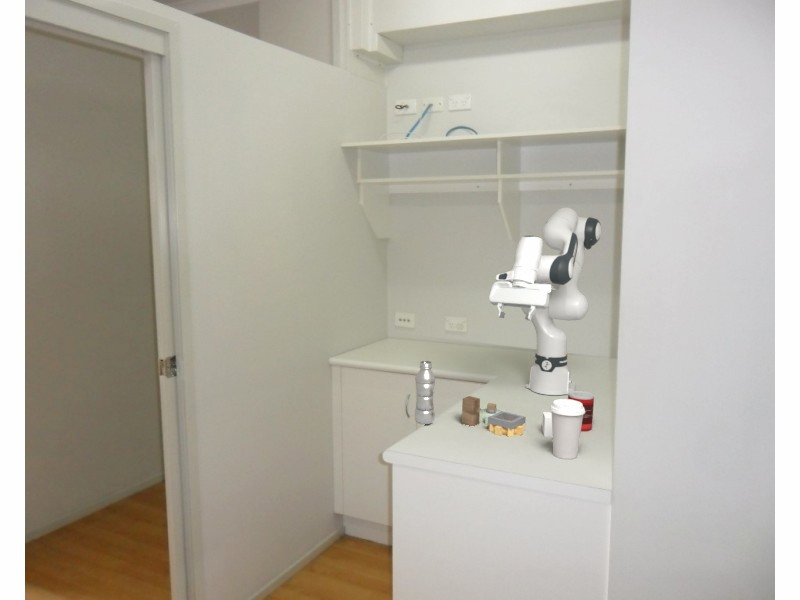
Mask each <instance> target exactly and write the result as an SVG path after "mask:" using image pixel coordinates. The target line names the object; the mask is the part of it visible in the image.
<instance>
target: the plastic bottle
mask: <svg viewBox="0 0 800 600" xmlns="http://www.w3.org/2000/svg"><path fill="white" fill-rule="evenodd" d="M419 362H420V363H419V371H418V372H417V374H416V375H415V387H416V404H415V410H414V420H415V422H416V423H417V424H420V425H430V424H432V423H434V421H435V417H436V415H435V409H434V393H435V392H434V391H435V386H436V385H435V384H436V377H435V374H434V372H433V370H431V369H432V368H433V367H432V361H429V360H422V361H419Z"/></svg>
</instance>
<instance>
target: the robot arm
mask: <svg viewBox="0 0 800 600" xmlns="http://www.w3.org/2000/svg"><path fill="white" fill-rule="evenodd" d="M541 236H542V238H541V237H539V236H537V235H523V236H521V238H520V239H519V241H518V244H517V246H516V249H515V252H514V257H513V260H514V261H513V266H512V268H511V270H509V271H506V272H502V273H498V274H496V276H495V280H496V281H495V282H494V283H493V284H492V285H491V288H490V292H489V295H488V301H489V303H490V304H491V305H493V306H497V309H498V312H499V313H498V318H500V319H505V316H506V313H505V312H504V311H503V309H504V307H513V308H521V311H522V312H523V314H525V318H524V319H525V320H526V321H531V323H532V326H533V327H534V329H535V334H536V352H535V355H534V364H533V365H532V366H531V368H530V373H529V374H530V375H529V383H526V384H525V388H526V389H529V390H530V391H532V392H533V393H537V394H541V395H546V396H547V395H549V396H563V395H568V393H569V392H571V391H576V385H577V384H576V382H574V381H572V379H571V370H570V368H569V367H568V353H567V344H568V338H567V334H566V332H565V331H564V330H562V329H560V328H559V327H558V326H556V324H555V322H554V320H559V321H578V320H582V319H583V318H584V317H586V315H587V314H588V311H589V307H590V306H589V300H588V298H587V297H586V295H585V294H583V293H582V292H581V291H580V290H579V280H580V277H581V274H582V271H583V270H584V269H583V268H584V266H585V265H584V264H585V259H586V258H585V257H586V252H585V250H591V249H592V247H593V246H595V245H596V244H597V243H598V242H599V241H600V238H601V236H602V226H601V222H600V220H599V219H597V218H595V217H586V216H579V215H578V213H577V211H575V209H573V208H570V207H567V206H566V207H561V208H558V209H557V210H556V211H555V212H554V213H553V214H552V215H551V216H550V217H549V219H548V220H547V221H546V222H545V224H544V226H543V229H542V233H541ZM544 243H545V245H546V246H547V247H548V248H550V249H552V250H554V251H559V253H558V254H556V255H553V254H549V255H548V254H545V255H543V247H544V246H543V244H544ZM552 288H554V289H552Z"/></svg>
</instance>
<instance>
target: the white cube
mask: <svg viewBox="0 0 800 600" xmlns="http://www.w3.org/2000/svg"><path fill="white" fill-rule="evenodd" d="M541 424H542V425H541V427H542V429H541V431H542V434H543V437H545V438H553V435H552V412H548V411H543V412H542V423H541Z"/></svg>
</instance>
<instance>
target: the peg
mask: <svg viewBox="0 0 800 600" xmlns="http://www.w3.org/2000/svg"><path fill="white" fill-rule="evenodd" d="M461 404H462V406H461V407H462V408H461V409H462V410H461V425H463V424H465V425H464V426H466V425H469V426H468V427H470V426H474V427H476V426H478V425H480V422H479V416H480V408H481V398H480V397H475V396H472V395H468V396H465V397H463V398H462V403H461ZM477 424H478V425H477ZM475 425H476V426H475Z"/></svg>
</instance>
